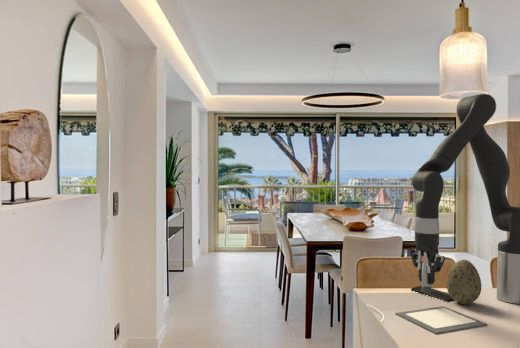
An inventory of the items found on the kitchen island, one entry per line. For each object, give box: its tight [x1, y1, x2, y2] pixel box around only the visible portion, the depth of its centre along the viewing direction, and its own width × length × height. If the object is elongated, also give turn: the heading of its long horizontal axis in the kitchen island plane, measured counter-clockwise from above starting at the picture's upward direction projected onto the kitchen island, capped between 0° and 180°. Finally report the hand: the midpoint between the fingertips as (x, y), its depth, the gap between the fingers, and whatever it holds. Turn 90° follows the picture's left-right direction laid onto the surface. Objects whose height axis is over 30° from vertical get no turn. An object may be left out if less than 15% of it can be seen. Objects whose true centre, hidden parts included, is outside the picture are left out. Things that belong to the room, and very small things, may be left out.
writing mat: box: [395, 305, 488, 335], centre depth 120 cm, size 20×16×1 cm
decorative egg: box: [445, 259, 482, 305], centre depth 136 cm, size 11×11×15 cm
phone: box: [410, 285, 455, 302], centre depth 145 cm, size 8×1×15 cm
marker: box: [421, 256, 432, 293], centre depth 132 cm, size 3×3×12 cm
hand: (426, 282), depth 132 cm, fingers closed on marker, 3 cm apart
